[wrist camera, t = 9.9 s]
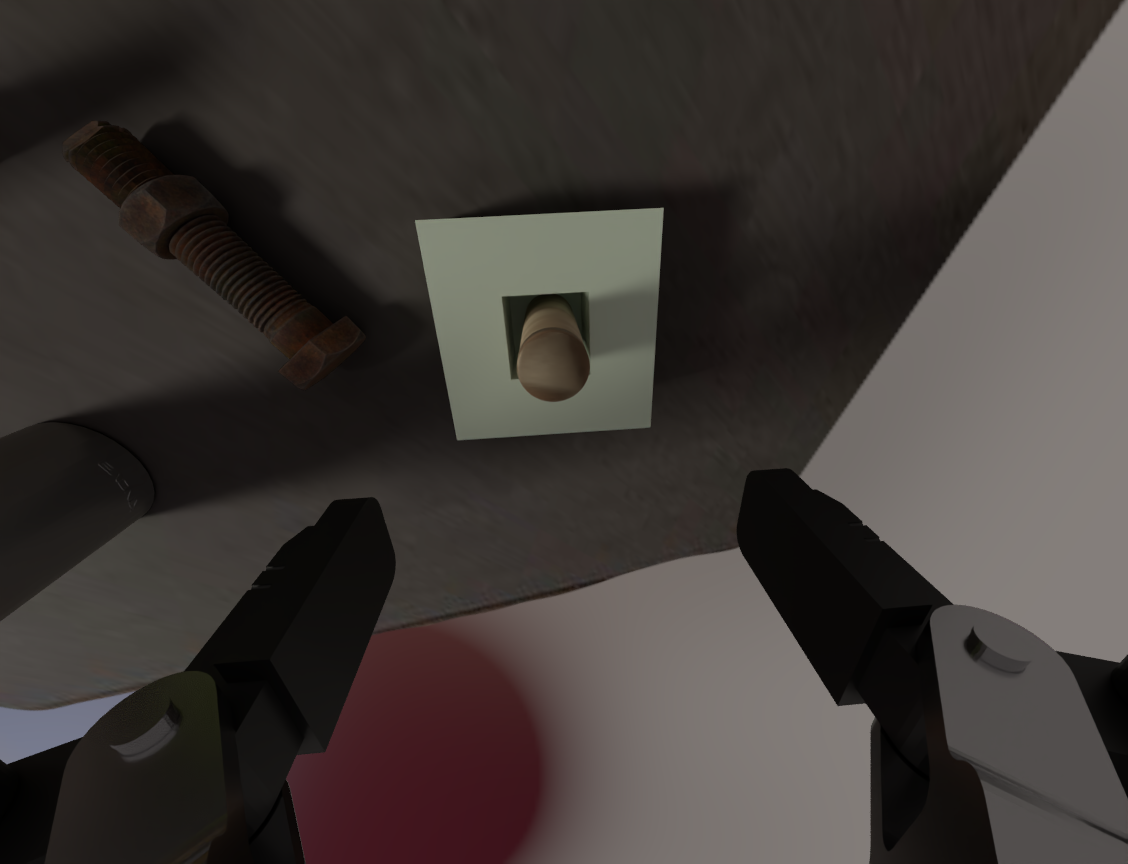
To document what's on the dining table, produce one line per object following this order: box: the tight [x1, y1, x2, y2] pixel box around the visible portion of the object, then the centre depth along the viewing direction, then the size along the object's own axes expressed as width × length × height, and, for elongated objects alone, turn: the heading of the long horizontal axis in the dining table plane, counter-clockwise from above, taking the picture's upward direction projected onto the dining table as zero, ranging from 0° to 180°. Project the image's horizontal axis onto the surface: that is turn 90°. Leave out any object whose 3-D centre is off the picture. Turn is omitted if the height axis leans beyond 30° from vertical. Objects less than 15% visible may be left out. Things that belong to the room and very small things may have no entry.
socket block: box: [415, 208, 664, 440], centre depth 25 cm, size 12×12×6 cm
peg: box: [517, 294, 590, 402], centre depth 22 cm, size 3×3×10 cm
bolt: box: [62, 121, 366, 390], centre depth 23 cm, size 6×5×15 cm
